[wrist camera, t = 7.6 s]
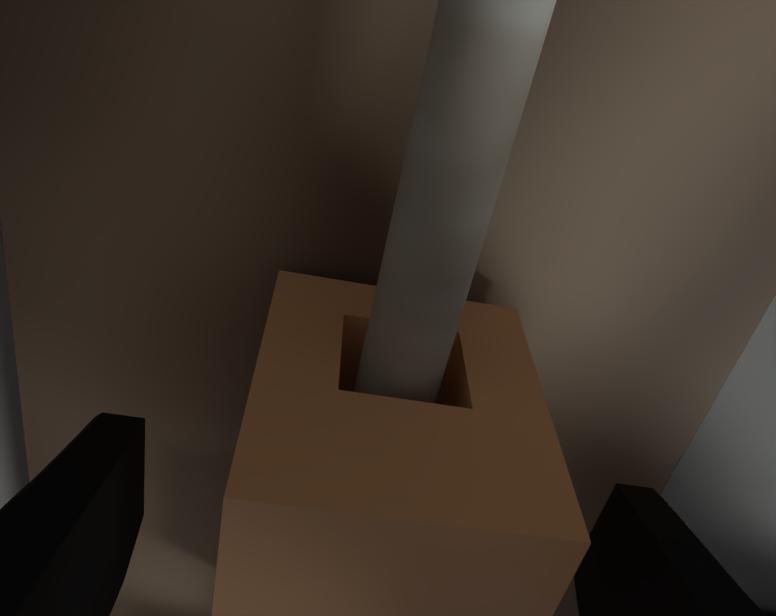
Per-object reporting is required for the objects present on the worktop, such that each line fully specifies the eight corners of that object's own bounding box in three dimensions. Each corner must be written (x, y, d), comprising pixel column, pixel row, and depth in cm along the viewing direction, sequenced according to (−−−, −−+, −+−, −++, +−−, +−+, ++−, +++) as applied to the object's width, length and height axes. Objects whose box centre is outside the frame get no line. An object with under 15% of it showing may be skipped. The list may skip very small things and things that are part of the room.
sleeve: (516, 308, 12) (591, 543, 8) (457, 475, 14) (492, 729, 10) (279, 270, 11) (222, 497, 7) (255, 449, 13) (202, 704, 9)
